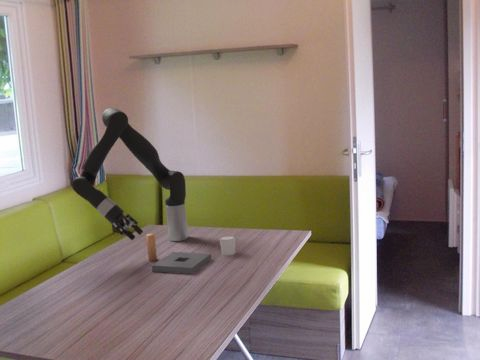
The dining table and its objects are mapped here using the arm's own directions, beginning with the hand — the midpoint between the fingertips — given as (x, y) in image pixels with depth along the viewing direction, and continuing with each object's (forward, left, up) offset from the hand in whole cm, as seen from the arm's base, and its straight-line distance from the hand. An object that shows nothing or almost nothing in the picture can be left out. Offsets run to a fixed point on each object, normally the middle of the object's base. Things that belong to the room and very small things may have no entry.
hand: (137, 235), depth 242 cm
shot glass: (-14, +36, -11) cm, 40 cm away
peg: (-1, +6, -11) cm, 12 cm away
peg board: (+4, +23, -11) cm, 25 cm away
